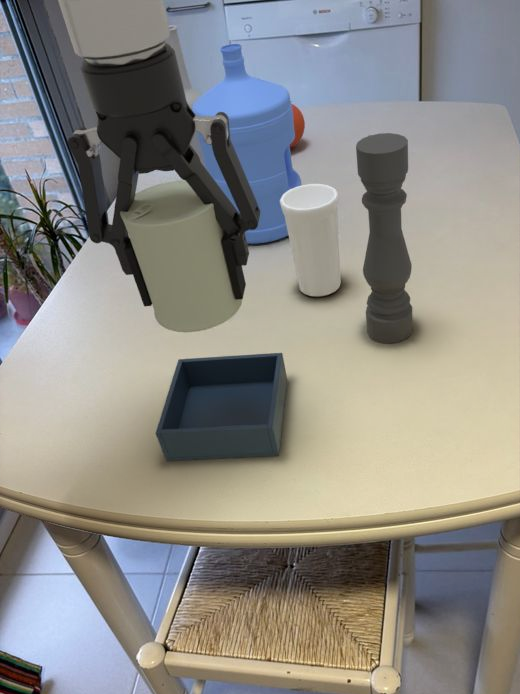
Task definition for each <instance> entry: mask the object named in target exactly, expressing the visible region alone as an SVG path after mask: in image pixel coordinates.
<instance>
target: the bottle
mask: <svg viewBox="0 0 520 694" xmlns="http://www.w3.org/2000/svg"><path fill="white" fill-rule="evenodd" d="M168 26H169V30H170V34H171V35H170V37H169V38H168V40H167V41H166V42H165V43H167V44H169V45H170V46H171V47H172V48H173V49H174V50H175V54H176V59H177V63H178V67H179V71H180V75H181V79H182V84H183V88H184V92H185V97H186V101H187V103H188V105H189V107H190V108H191V110H192V107H193V104H194V102H195V101H196V100H197V99H198V98H199V97H201V96H202V95H201V94H200V93H199V92H197V90H195V89H194V87H192V84H191V81H190V77H189V74H188V70H187V67H186V62H185V59H184V55H183V50H182V47H181V43H180V38H179V33H178V29H179V28H178V26H177V25H173V24H172V25H168ZM190 145H191V146H192V148H193V149H194V150H195V152H196V153H197V154H198V156H199V158H200V161H201V163H202V164H203V166H204V167H205V163H204V159H203V155H202V151H201V146H200V142H199V138H198V136H197V133H196V132H195V133H194V135H193V138H192V140H191V142H190Z"/></svg>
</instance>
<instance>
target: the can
mask: <svg viewBox="0 0 520 694" xmlns="http://www.w3.org/2000/svg"><path fill="white" fill-rule="evenodd" d="M120 214H121V217H122V219H123V221H124V224H125V227H126V229H127V232H128V235H129V238H130V240H131V243H132V246H133V249H134V252H135V254H136V257H137V260H138V263H139V266H140V269H141V272H142V274H143V277H144V280H145V283H146V286H147V289H148V292H149V295H150V298H151V301H152V305H151V306H152V308H153V313H154V318H155V320H156V322H157V323H158V325H159V326H161V327H162V328H164V329H165V330H168V331H172V332H177V333H195V332H196V333H197V332H202V331H206V330H210V329H212V328H215V327H218V326H220V325H222V324H224V323H225V322H228V321H229V320H231V318H233V317H234V316H235V315H236V314H237V313H238V311H239V310H240V309H241V306H242V304H243V299H238V300H235V296H234V292H233V288H232V283H231V279H230V275H229V271H228V267H227V262H226V258H225V254H224V250H223V245H222V241H221V240H222V237H223V236H224V233H225V230H224V229H223V227H222V226H221V225H220V224H219V222H218V221H217V220H216V217H215V212H214V205H213V203H210V204H207V205H205V204H204V203H203V202H202V201H201V199H200V198H199V197H198V196H197V194H196V193H195V192H194V190H193V189H192V188H191V187H190V185H189V184H188V183H187V182H186V181H185V180H183V179H181V180H172V181H166V182H162V183H159V184H155V185H152V186H149V187H146V188H144V189H142V190H140V191H138V192H136V193H135V199H134V202H133V203H132V205H131V207H130V209H129V211H128V212H122V211H121V212H120Z"/></svg>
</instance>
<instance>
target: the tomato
mask: <svg viewBox="0 0 520 694" xmlns="http://www.w3.org/2000/svg"><path fill="white" fill-rule="evenodd" d="M290 102H291V104H292V110H293V119H294V120H293V124H294V131H295V138H294V140H293V142H292V143H291V144H290V145H289V146H290V149H291V148H293V147H295V146H296V145H297V144H298V143H299V142H300V141H301V139H303V137H304V133H305V128H306V122H305V117H304V115H303V112H302V111H301V109H300V108H298V107H297V106H296V105H295V104H293V103H292V102H293V100H290Z"/></svg>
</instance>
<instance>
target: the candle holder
mask: <svg viewBox="0 0 520 694" xmlns="http://www.w3.org/2000/svg"><path fill="white" fill-rule="evenodd" d="M355 152H356V163H357V164H356V167H357V175H358V177H359V179H360V182H361V184H362V185H363V186H364V189H365V191H366V192H364V193H363V194H362V196H361V203H362V205H363V207H364V208H366V210H367V213H368V227H369V232H368V239H367V244H366V251H365V256H364V260H363V266H362V274H363V277H364V279H365V282H366V284H368V286H369V287H370V290H371V292H370V294H369V295H368V296H367V299H366V309H365V320H366V321H365V322H366V334H367V335H368V337H369V338H370V339H371V340H373V341H374V342H377V343H381V344H395V343H401V342H403V341H404V340H407V339H408V338H409V337H410V336H411V335H412V333H413V328H414V326H413V325H414V322H413V318H414V317H413V316H414V315H413V306H412V304H411V296H410V295H409V293H408V292H407V291H406V290H405V289H406V284H407V283H408V281H409V280H410V279H411V274H412V268H413V267H412V261H411V259H410V253H409V251H408V246H407V244H406V238H405V235H404V233H403V229H402V226H403V225H402V208H403V206H404V205H405V203H407V198H408V195H407V192H406V191H405V190H404V189H403V188H402V187H403V184H404V183H405V180H406V177H407V174H408V172H409V140H408V138H407V137H406V136H404V135H401V134H399V133H393V132H392V133H391V132H386V133H385V132H384V133H376V134H370V135H368V136H364V137H362V138H361V139H360V140H358V141H357V142H356V145H355Z"/></svg>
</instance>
